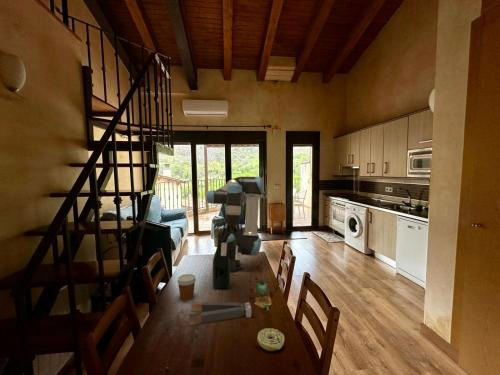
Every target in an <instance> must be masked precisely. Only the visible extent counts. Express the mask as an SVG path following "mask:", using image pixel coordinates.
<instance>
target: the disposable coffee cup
mask: <svg viewBox="0 0 500 375" xmlns="http://www.w3.org/2000/svg"><path fill="white" fill-rule="evenodd" d="M196 280H197V278H196V276H195V275H194V274H192V273H187V274H186V273H185V274H182V275H180V276H179V277H178V278H177V280H176V281H177V285H178V291H179V296H180V300H181V301H184V302H186V301H187V302H189V301H191V300H193V298H194V295H195V294H194V292H195V286H196V284H195V283H196Z"/></svg>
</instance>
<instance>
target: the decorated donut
mask: <svg viewBox="0 0 500 375" xmlns="http://www.w3.org/2000/svg"><path fill="white" fill-rule="evenodd" d="M256 341H257V343H258V346H259V347H260V348H262V349H263V350H265V351H267V352H276V351H279V350H280V349H282V348H283V346H284V345H285V335H284V334H283V333H282V331H279V329H276V328H273V327H269V328H268V327H266V328H262V329H261V330H260V331H259V332H258V333H257V340H256Z"/></svg>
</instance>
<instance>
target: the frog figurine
mask: <svg viewBox="0 0 500 375" xmlns="http://www.w3.org/2000/svg"><path fill="white" fill-rule="evenodd" d="M260 280H261V281H257V282H255V285H256V288H255V289H254V291H255V292H258V293H259V295H258V297H255V302H254V305H256V306H258V307H259V308H261V309H266V310H267V311H270V306H271V305H272V304H273V303H272V302H273V301H272V300H271V298H270V294H269V290H268V287H267V286H268V284H269V281H268V280H266V281H265V282H264V277H261V278H260ZM266 292H267V296H266V295H264V294H265V293H266ZM261 294H262V296H261Z"/></svg>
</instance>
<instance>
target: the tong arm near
mask: <svg viewBox="0 0 500 375" xmlns="http://www.w3.org/2000/svg"><path fill="white" fill-rule="evenodd" d="M242 317H243V318H244V317H246V314H245V307H244V306H241V307H234V308H228V309H221V310H214V311H208V312H196V313H189V316H188V318H189V320H188V322H189V324H188V325H189V326H194V325H200V324H207V323H213V322H218V321H220V322H221V321H224V320H225V321H226V320H229V319H231V320H232V319H236V318H242Z"/></svg>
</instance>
